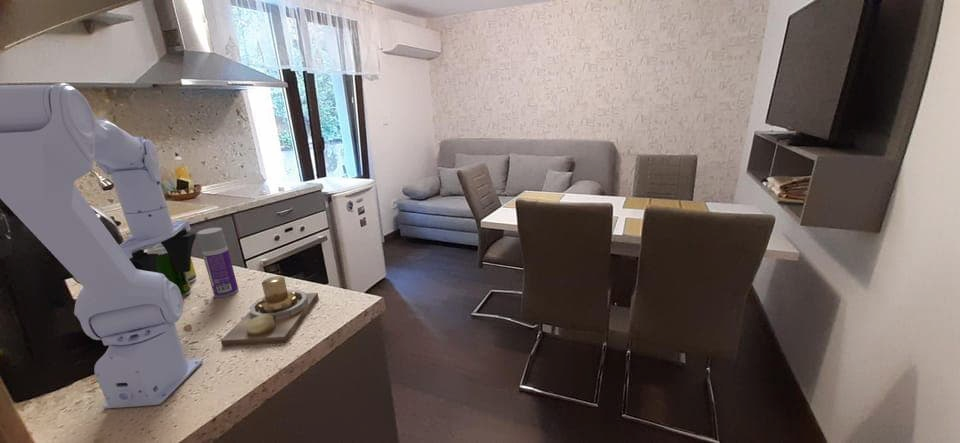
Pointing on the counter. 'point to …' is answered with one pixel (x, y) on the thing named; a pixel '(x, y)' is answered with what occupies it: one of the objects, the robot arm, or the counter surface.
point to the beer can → (170, 269)
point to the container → (218, 262)
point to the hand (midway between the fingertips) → (169, 280)
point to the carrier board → (273, 334)
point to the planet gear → (276, 296)
